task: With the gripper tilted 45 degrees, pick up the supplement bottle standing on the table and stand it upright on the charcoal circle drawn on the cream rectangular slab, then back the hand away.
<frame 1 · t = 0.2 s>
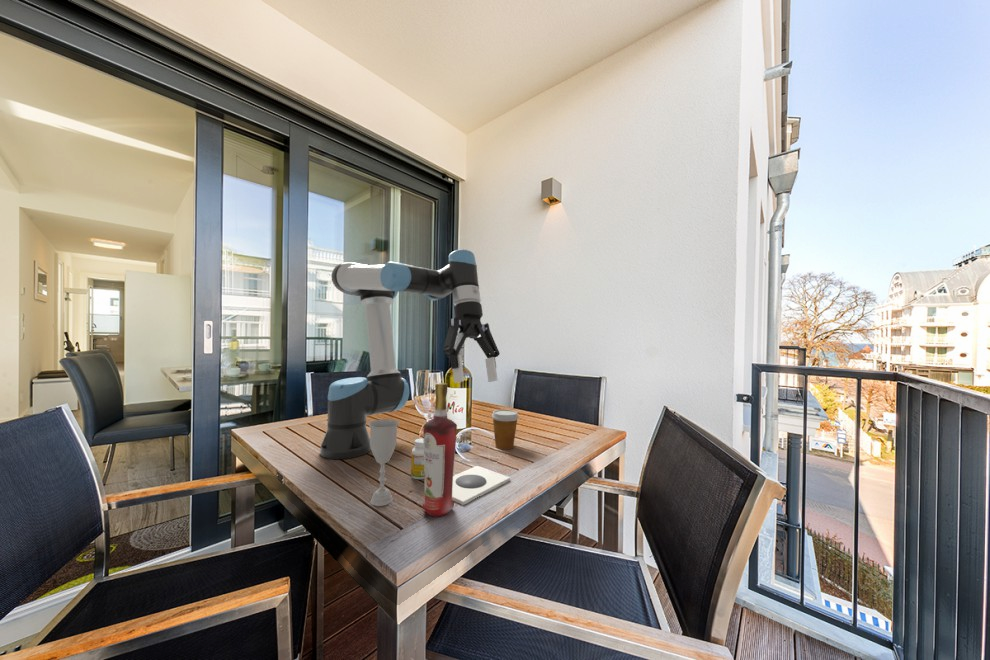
hand: (477, 381, 89), 27 cm above the table, tool tilted 15°, fingers open, 13 cm apart
disposable coffee cup: (504, 447, 120), on the table
cream rectangular slab: (470, 484, 89), on the table
supplement bottle: (420, 476, 94), on the table
chalice: (381, 501, 79), on the table
liquor: (437, 512, 75), on the table
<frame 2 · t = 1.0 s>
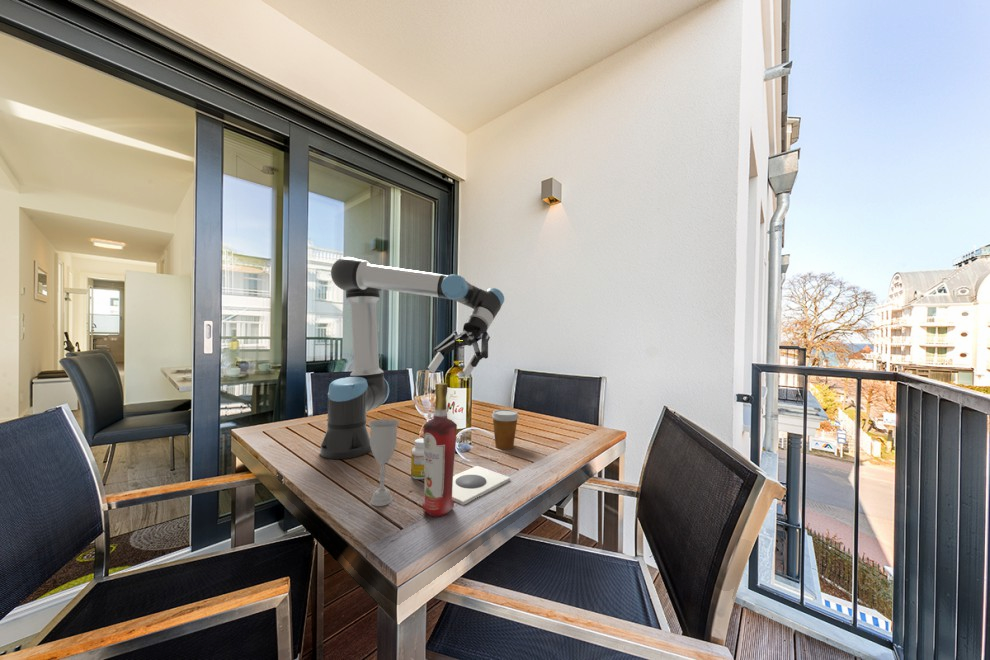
hand: (447, 372, 102), 28 cm above the table, tool tilted 45°, fingers open, 13 cm apart
nothing on the table moved.
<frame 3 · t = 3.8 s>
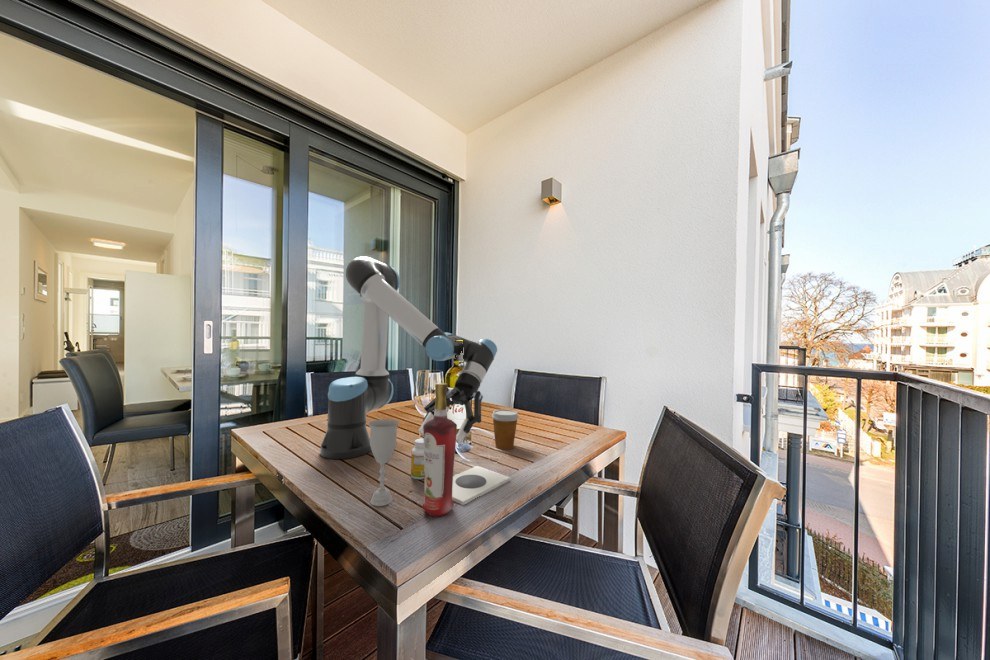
hand: (438, 437, 97), 9 cm above the table, tool tilted 45°, fingers open, 13 cm apart
nothing on the table moved.
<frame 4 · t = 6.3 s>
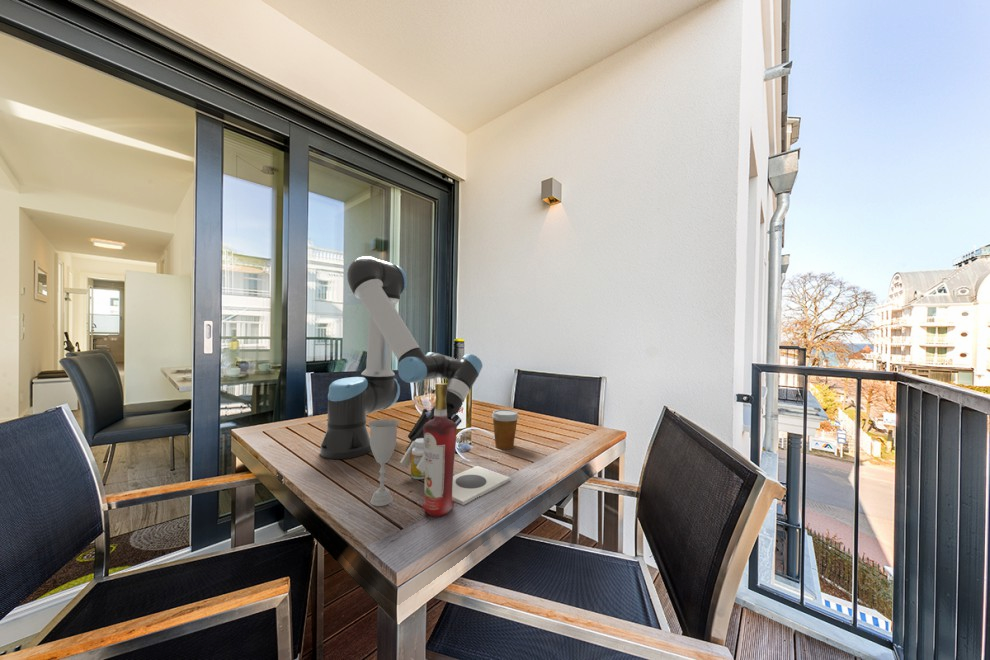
hand: (411, 467, 91), 3 cm above the table, tool tilted 45°, fingers closed on supplement bottle, 5 cm apart
supplement bottle: (420, 476, 94), on the table, touching gripper
everything else where it was.
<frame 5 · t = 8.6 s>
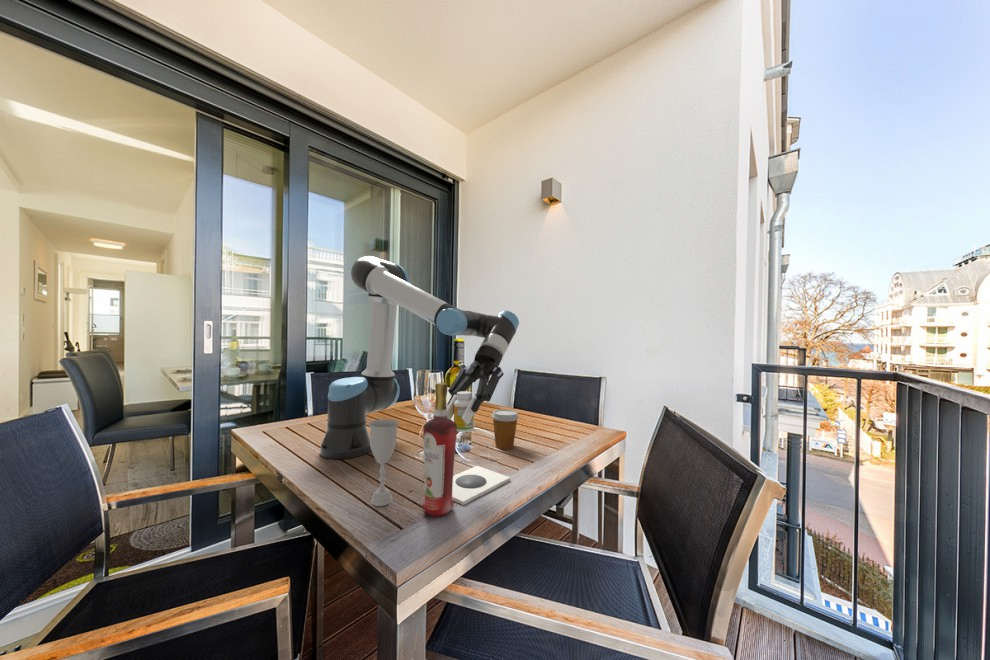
hand: (455, 419, 87), 17 cm above the table, tool tilted 45°, fingers closed on supplement bottle, 5 cm apart
supplement bottle: (464, 430, 90), point 14 cm above the table, touching gripper
everything else where it was.
when the fingers open (5 cm above the table, at t = 11.2 s): supplement bottle stays where it is, resting on cream rectangular slab.
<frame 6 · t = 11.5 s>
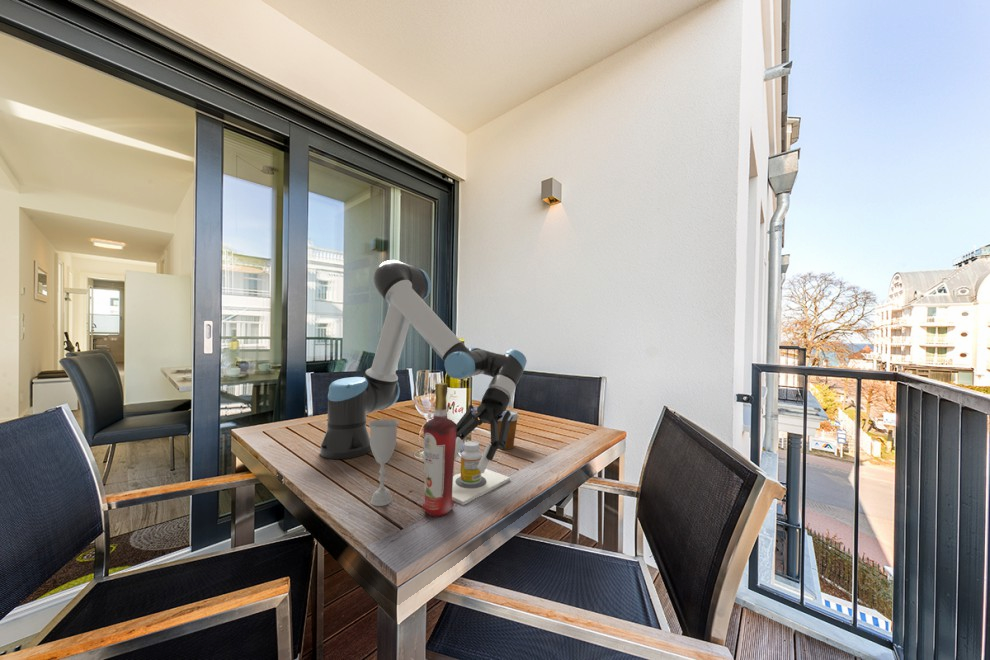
hand: (464, 465, 86), 6 cm above the table, tool tilted 45°, fingers open, 9 cm apart
supplement bottle: (470, 481, 89), point 1 cm above the table, touching cream rectangular slab
everything else where it was.
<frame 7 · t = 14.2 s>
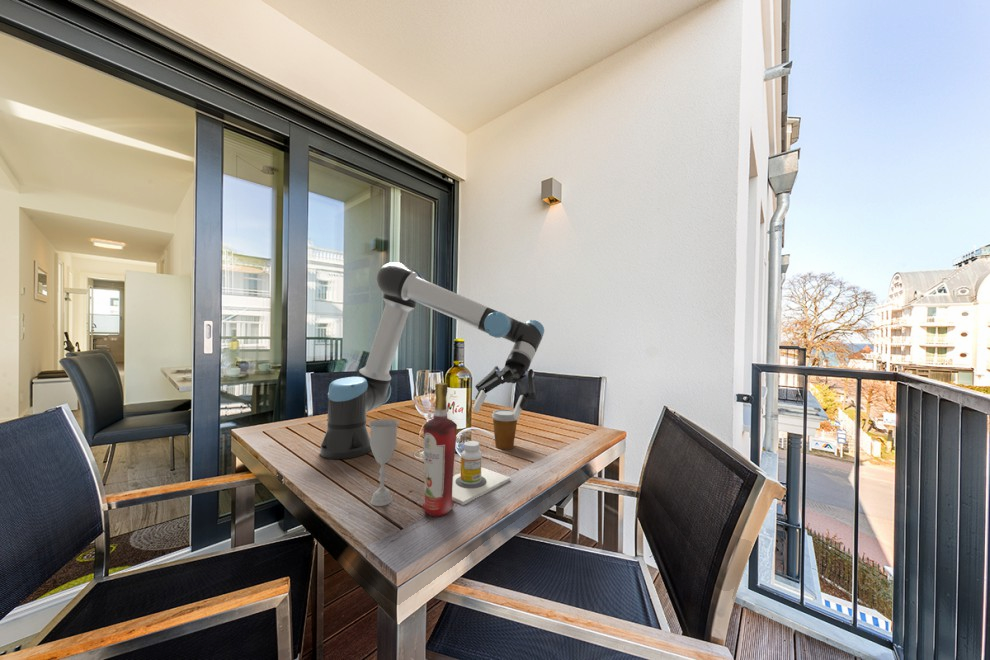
hand: (494, 413, 98), 17 cm above the table, tool tilted 45°, fingers open, 13 cm apart
nothing on the table moved.
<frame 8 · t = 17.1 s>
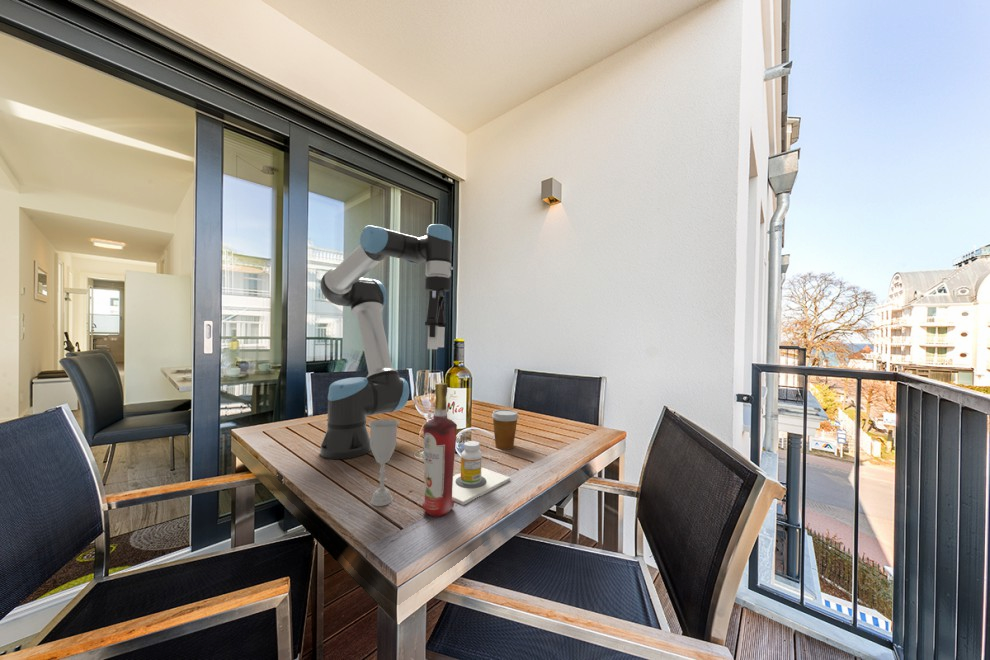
hand: (436, 348, 102), 35 cm above the table, tool pointing down, fingers open, 13 cm apart
nothing on the table moved.
at the end: supplement bottle 0.1 cm off-centre on the cream rectangular slab, point 0.8 cm above the cream rectangular slab's base; supplement bottle tilted 0°; the gripper is holding nothing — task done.
